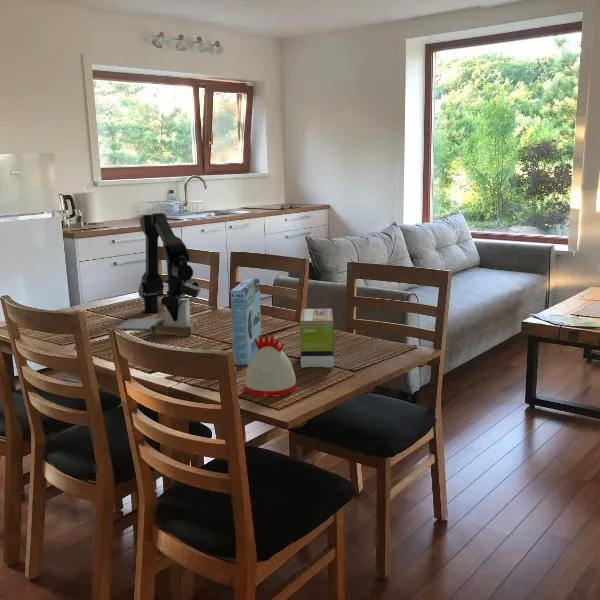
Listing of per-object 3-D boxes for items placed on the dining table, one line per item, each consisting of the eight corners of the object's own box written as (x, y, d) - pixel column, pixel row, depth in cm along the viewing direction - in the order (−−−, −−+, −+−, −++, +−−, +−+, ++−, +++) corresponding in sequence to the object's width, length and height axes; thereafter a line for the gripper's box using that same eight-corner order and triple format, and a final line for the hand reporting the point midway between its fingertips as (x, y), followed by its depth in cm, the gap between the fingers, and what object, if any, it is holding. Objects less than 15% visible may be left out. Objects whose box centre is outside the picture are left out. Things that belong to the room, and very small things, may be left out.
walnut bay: (163, 324, 247) (162, 316, 247) (200, 325, 246) (199, 317, 245) (150, 335, 233) (150, 327, 233) (190, 335, 232) (189, 327, 231)
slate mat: (129, 320, 255) (129, 318, 254) (165, 320, 253) (165, 319, 253) (116, 329, 241) (116, 328, 241) (153, 330, 240) (153, 328, 240)
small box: (190, 326, 245) (189, 298, 243) (186, 330, 239) (185, 301, 237) (169, 325, 246) (168, 298, 243) (165, 329, 240) (163, 301, 238)
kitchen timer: (255, 377, 189) (254, 326, 186) (302, 381, 185) (301, 329, 182) (237, 394, 176) (235, 339, 173) (286, 399, 172) (285, 343, 169)
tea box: (301, 353, 211) (301, 307, 208) (333, 353, 211) (333, 307, 208) (300, 368, 197) (299, 319, 193) (334, 368, 196) (334, 319, 193)
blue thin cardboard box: (248, 366, 199) (246, 291, 194) (231, 365, 200) (229, 290, 195) (262, 347, 218) (260, 278, 213) (247, 346, 219) (245, 278, 214)
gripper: (191, 281, 229) (193, 325, 232) (203, 272, 247) (205, 313, 250) (159, 281, 230) (161, 325, 233) (174, 272, 248) (176, 312, 251)
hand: (177, 318), depth 242 cm, fingers closed on small box, 6 cm apart
